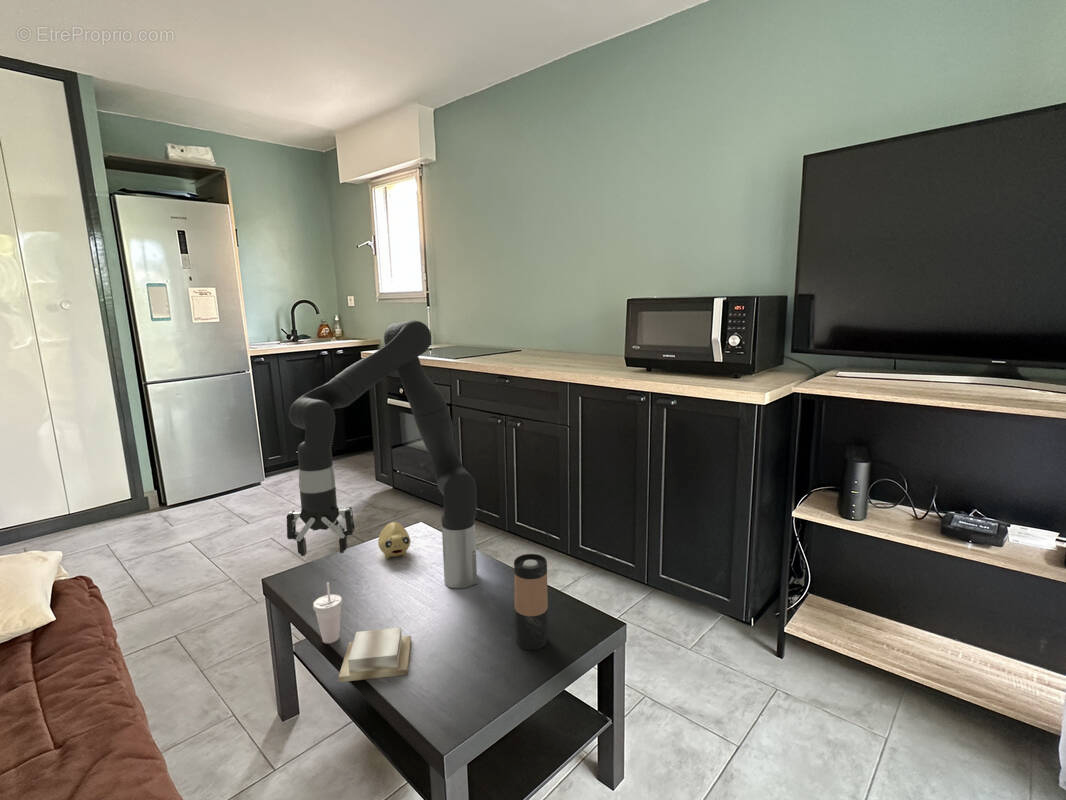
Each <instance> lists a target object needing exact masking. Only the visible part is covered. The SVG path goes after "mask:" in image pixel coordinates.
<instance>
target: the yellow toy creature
mask: <svg viewBox="0 0 1066 800" xmlns="http://www.w3.org/2000/svg"><path fill="white" fill-rule="evenodd" d="M377 544H378V547H379V550H380V551H381V552H382V554H384V558H385V559H390V557H391V558H392V557H393V558H395V557H399V556H403V557H404V556H406V554H407V551H408V549H409V547H410V545H411V538H410V535H409V533H408V531H407V530H406V528H405V527H404V526H403V525H402V524H401V523H399V522H397V521H392V522H389V523H388V524H386V526H384V527H383V529H381V531H380V534H379V536H378V540H377Z"/></svg>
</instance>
